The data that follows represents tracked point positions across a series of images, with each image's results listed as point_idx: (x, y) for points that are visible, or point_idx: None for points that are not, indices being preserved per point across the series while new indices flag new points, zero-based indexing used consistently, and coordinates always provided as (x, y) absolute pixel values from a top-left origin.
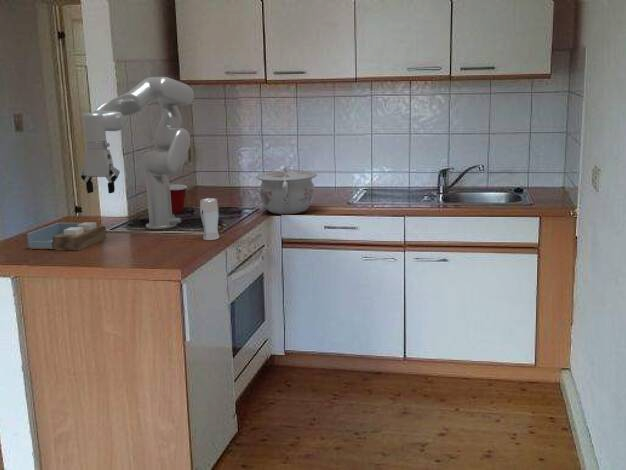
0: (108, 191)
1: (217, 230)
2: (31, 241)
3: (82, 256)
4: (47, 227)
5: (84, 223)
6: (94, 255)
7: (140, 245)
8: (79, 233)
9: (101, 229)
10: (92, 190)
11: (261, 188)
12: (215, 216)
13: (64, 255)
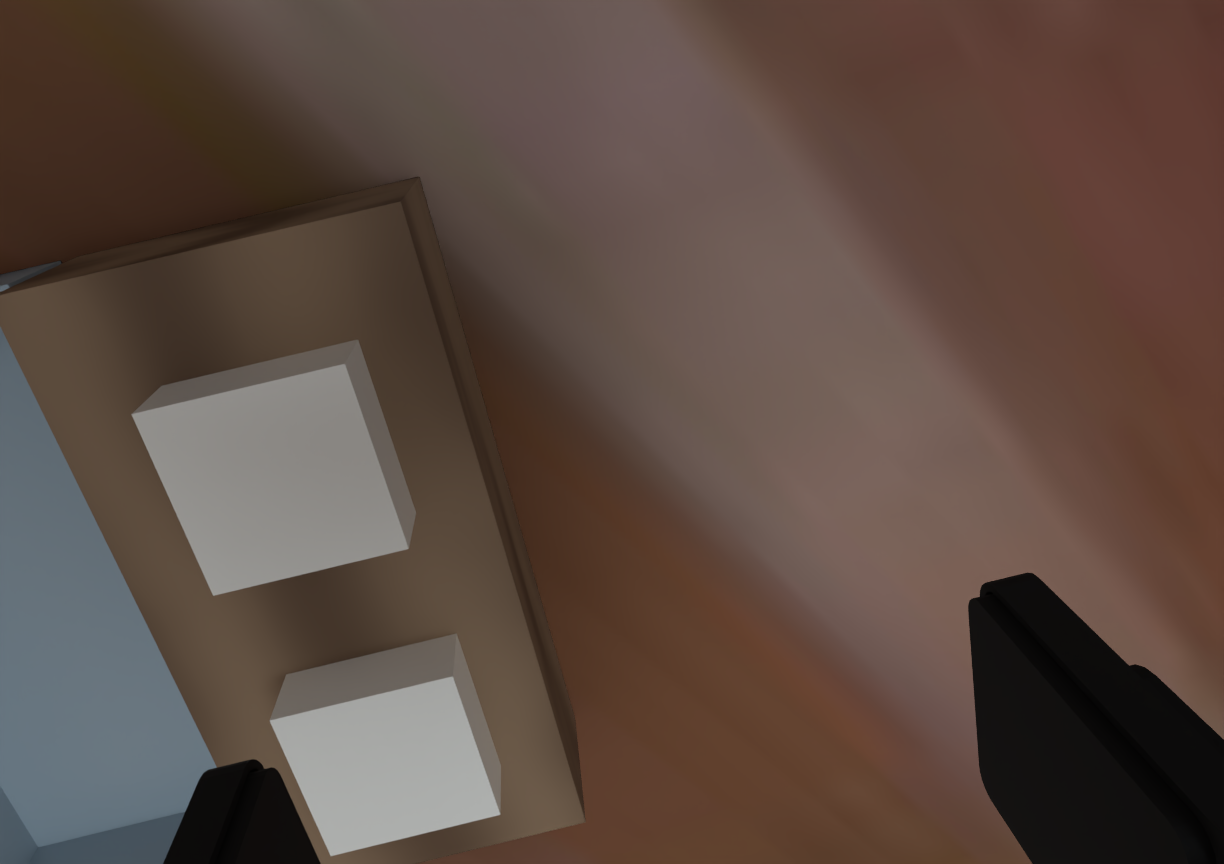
0: (1007, 820)
1: None
2: None
3: (768, 821)
4: None
5: (224, 484)
6: (850, 765)
7: (1076, 327)
8: (482, 716)
9: (439, 313)
10: (277, 833)
11: None
12: None
13: (583, 856)
